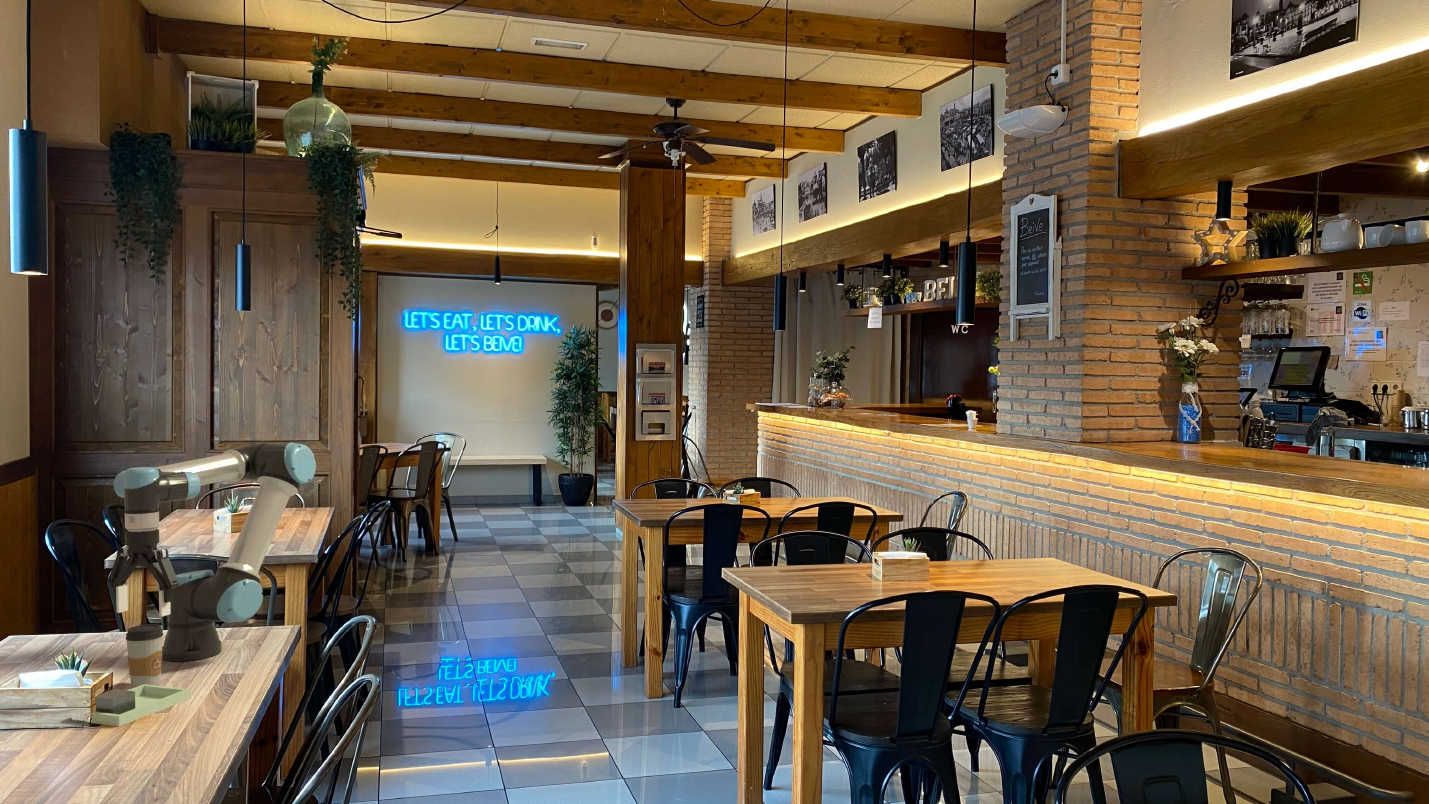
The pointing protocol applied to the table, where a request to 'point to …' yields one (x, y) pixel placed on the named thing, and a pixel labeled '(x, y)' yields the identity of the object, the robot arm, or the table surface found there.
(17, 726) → the table surface
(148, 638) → the coffee cup
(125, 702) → the cube
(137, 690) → the green tray
